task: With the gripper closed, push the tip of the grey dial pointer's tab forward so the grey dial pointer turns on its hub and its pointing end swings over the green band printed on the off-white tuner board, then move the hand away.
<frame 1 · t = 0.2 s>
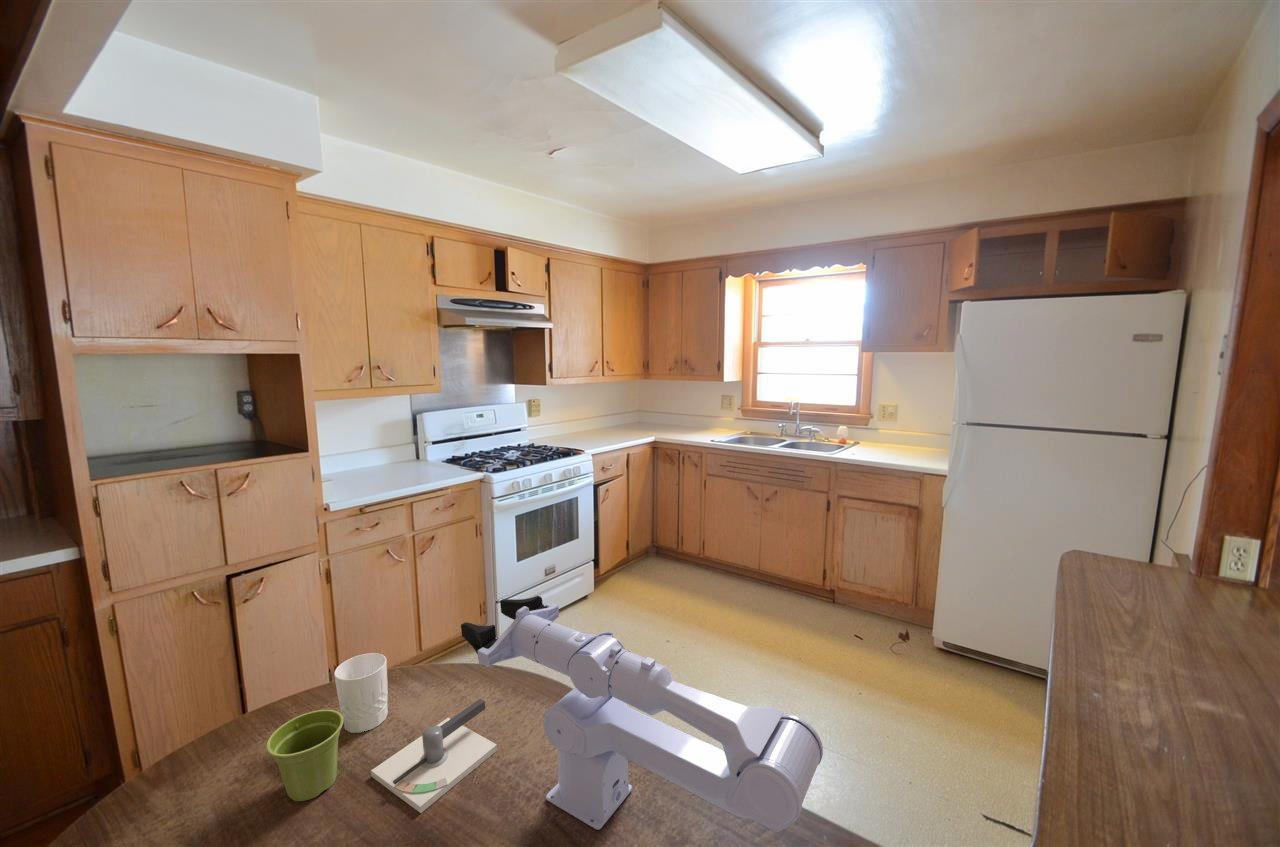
hand: (483, 617, 82), 21 cm above the table, tool horizontal, fingers open, 7 cm apart
plant pot: (312, 786, 77), on the table
white cup: (366, 721, 91), on the table
grey dial pointer: (441, 738, 81), point 3 cm above the table, hinge at 0.0°
tuner board: (434, 764, 80), on the table
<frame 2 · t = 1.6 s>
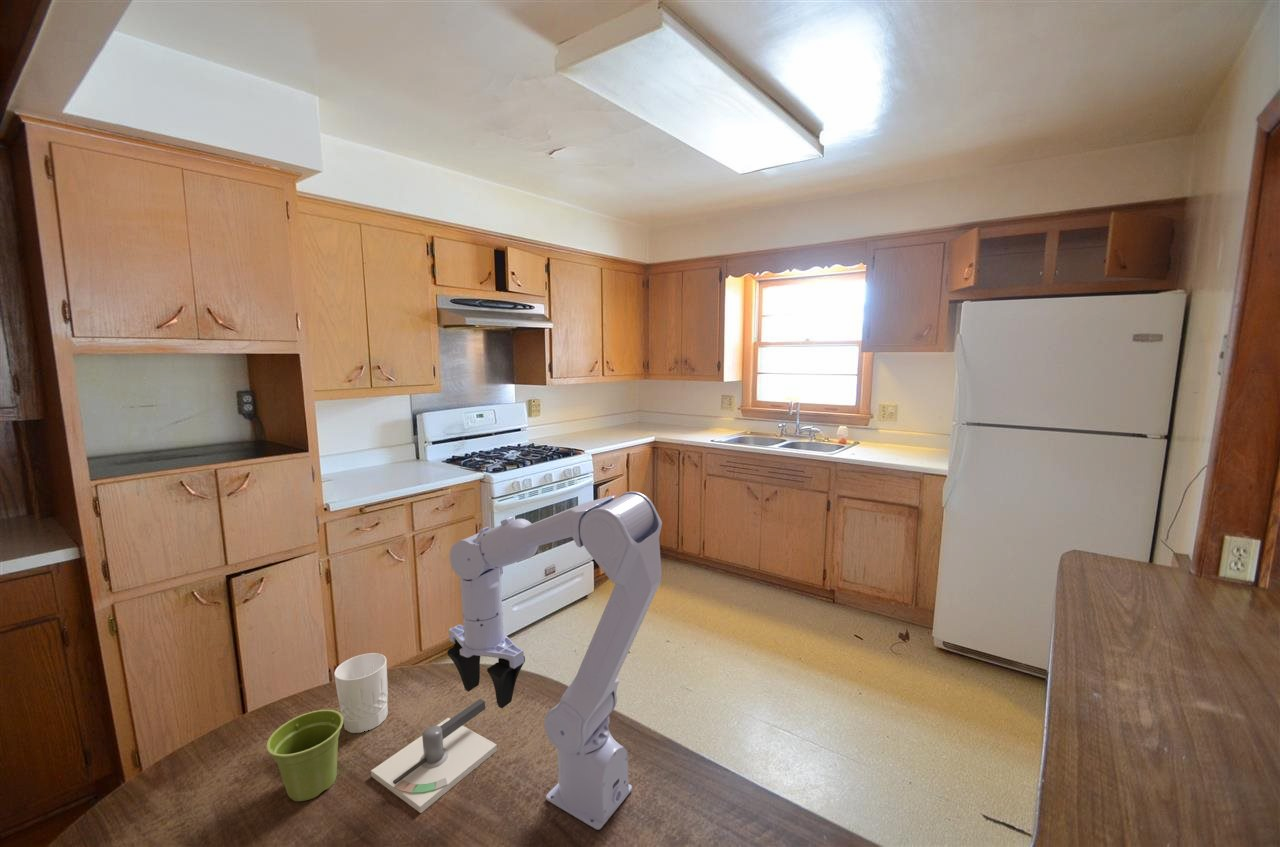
hand: (488, 695, 81), 10 cm above the table, tool pointing down, fingers open, 7 cm apart
nothing on the table moved.
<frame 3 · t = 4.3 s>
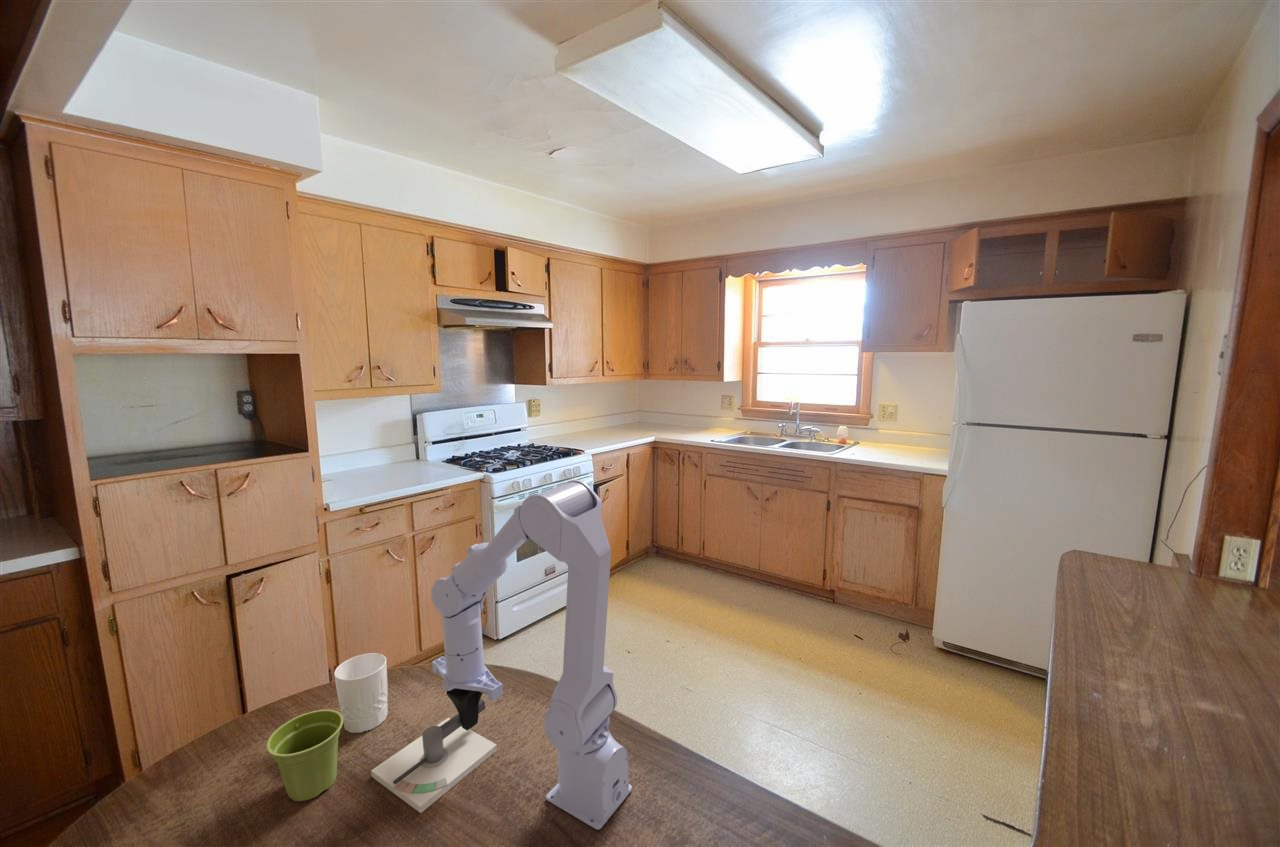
hand: (469, 725, 84), 3 cm above the table, tool pointing down, fingers closed, pressing on grey dial pointer
grey dial pointer: (441, 738, 81), point 3 cm above the table, hinge at 0.3°, touching gripper
everything else where it was.
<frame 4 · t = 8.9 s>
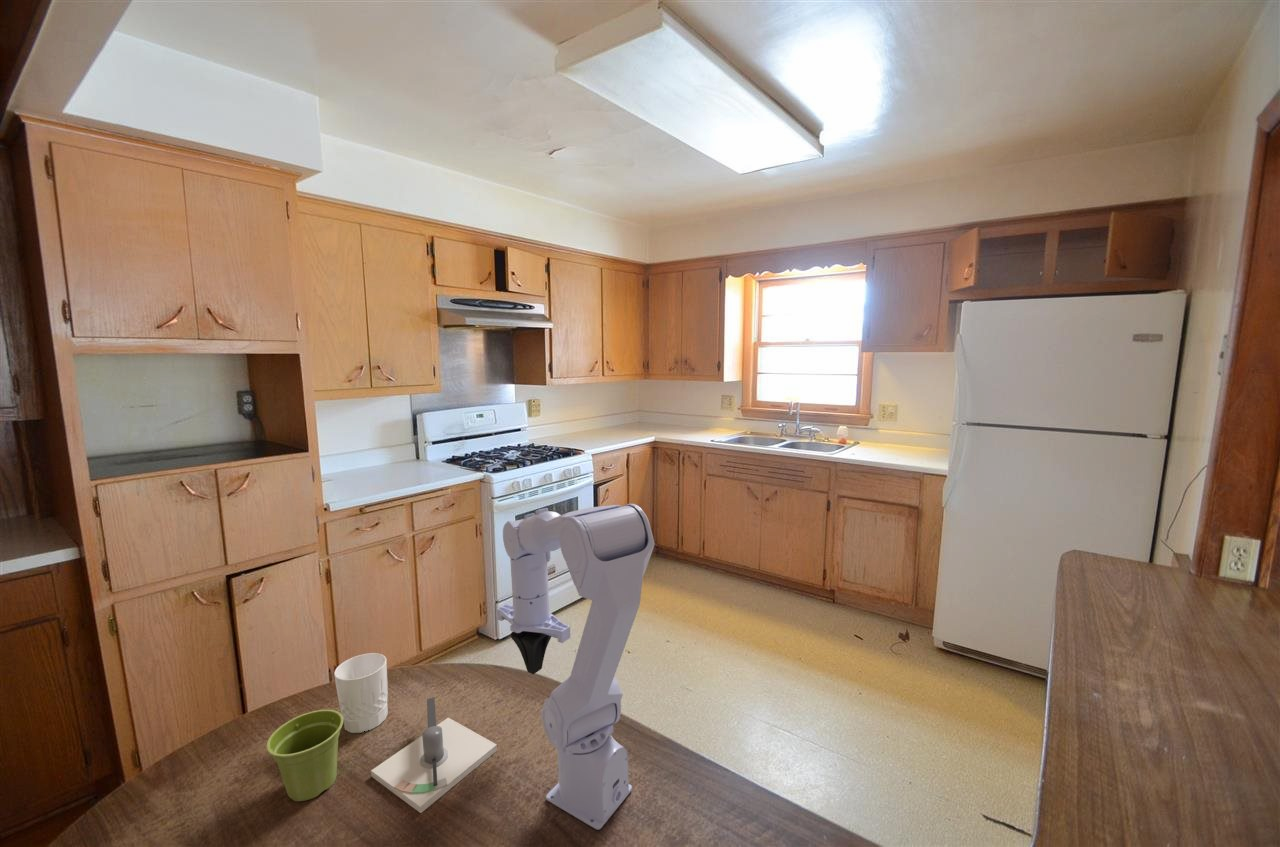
hand: (534, 670, 86), 10 cm above the table, tool pointing down, fingers closed
grey dial pointer: (432, 738, 81), point 3 cm above the table, hinge at 56.3°
everything else where it was.
at the end: grey dial pointer at +56° (first picture: +0°); grey dial pointer touching nothing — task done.
